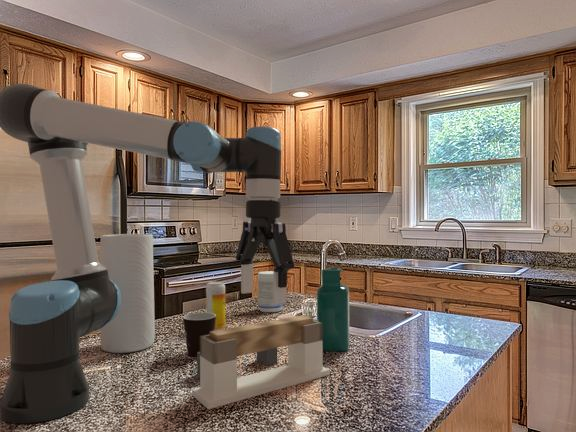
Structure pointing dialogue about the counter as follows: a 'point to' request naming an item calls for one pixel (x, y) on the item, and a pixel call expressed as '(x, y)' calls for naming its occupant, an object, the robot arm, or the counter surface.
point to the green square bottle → (333, 311)
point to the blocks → (263, 356)
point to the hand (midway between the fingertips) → (262, 297)
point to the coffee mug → (197, 330)
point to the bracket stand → (228, 388)
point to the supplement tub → (266, 293)
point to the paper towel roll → (130, 292)
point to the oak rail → (264, 334)
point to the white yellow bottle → (216, 303)
